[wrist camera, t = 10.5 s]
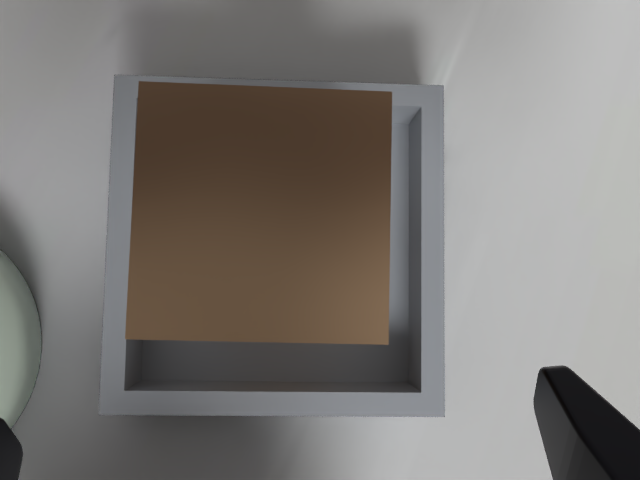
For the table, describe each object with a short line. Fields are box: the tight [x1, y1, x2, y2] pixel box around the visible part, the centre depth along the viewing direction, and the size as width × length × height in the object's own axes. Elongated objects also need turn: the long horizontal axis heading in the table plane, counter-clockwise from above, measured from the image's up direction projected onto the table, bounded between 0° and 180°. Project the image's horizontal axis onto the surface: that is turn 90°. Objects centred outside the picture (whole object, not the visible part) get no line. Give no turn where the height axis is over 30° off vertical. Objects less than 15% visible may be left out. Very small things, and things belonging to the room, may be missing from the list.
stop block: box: [125, 81, 392, 345], centre depth 17 cm, size 5×5×11 cm
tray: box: [99, 75, 445, 417], centre depth 22 cm, size 12×12×3 cm
